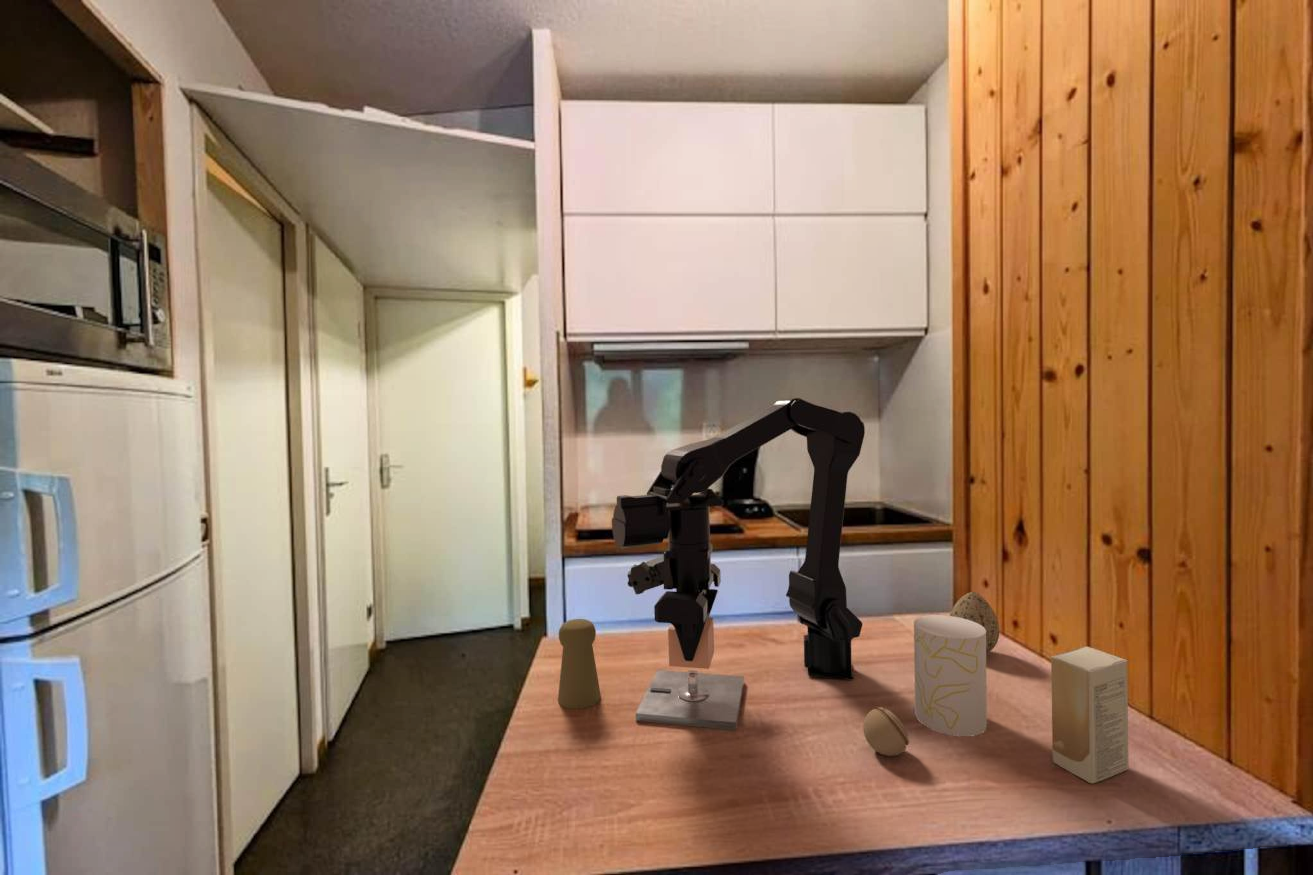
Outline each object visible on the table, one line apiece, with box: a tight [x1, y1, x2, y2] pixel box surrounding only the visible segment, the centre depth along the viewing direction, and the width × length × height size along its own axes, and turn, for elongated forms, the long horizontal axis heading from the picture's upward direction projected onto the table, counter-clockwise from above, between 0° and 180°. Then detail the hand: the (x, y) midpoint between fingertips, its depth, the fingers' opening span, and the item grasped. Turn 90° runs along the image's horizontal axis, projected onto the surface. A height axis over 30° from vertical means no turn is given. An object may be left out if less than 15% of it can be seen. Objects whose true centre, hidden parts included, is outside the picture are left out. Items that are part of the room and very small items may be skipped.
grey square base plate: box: [635, 669, 745, 731], centre depth 80 cm, size 13×13×4 cm
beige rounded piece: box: [862, 706, 910, 757], centre depth 67 cm, size 5×5×5 cm
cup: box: [913, 614, 988, 737], centre depth 73 cm, size 8×8×12 cm
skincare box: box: [1050, 646, 1130, 784], centre depth 63 cm, size 6×4×12 cm
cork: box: [557, 618, 602, 710], centre depth 81 cm, size 6×6×11 cm
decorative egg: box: [949, 591, 1000, 654], centre depth 93 cm, size 7×7×10 cm
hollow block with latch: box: [667, 616, 715, 670], centre depth 80 cm, size 5×5×5 cm
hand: (692, 651), depth 80 cm, fingers closed on hollow block with latch, 5 cm apart
